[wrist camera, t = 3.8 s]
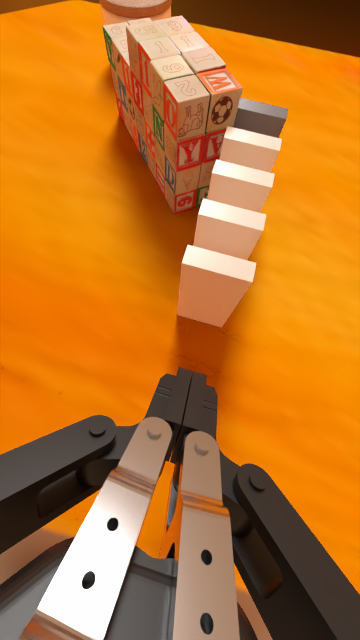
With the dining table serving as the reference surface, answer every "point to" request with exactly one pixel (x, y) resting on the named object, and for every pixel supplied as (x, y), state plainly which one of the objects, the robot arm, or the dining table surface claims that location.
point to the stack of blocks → (172, 102)
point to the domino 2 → (250, 149)
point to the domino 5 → (212, 285)
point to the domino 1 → (260, 117)
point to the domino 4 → (228, 229)
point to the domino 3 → (239, 186)
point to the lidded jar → (134, 10)
